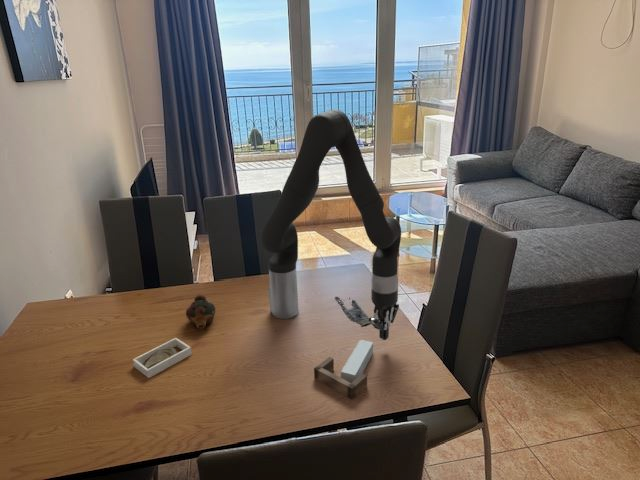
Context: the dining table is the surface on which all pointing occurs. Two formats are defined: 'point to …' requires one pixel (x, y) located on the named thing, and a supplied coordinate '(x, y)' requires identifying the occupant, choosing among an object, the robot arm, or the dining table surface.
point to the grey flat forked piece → (354, 312)
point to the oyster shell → (159, 356)
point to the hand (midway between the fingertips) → (384, 338)
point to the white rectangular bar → (357, 361)
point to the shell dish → (166, 363)
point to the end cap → (339, 379)
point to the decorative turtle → (200, 311)
